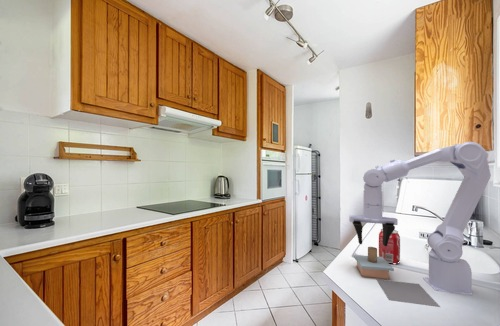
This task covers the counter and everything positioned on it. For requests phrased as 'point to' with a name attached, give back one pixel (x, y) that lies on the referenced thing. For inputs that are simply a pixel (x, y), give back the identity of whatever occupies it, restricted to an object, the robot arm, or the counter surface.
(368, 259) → the lid
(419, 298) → the mat
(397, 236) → the soda can
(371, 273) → the tray
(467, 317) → the counter surface
